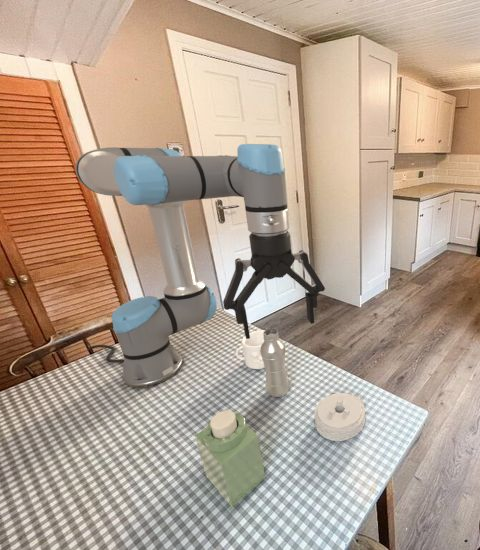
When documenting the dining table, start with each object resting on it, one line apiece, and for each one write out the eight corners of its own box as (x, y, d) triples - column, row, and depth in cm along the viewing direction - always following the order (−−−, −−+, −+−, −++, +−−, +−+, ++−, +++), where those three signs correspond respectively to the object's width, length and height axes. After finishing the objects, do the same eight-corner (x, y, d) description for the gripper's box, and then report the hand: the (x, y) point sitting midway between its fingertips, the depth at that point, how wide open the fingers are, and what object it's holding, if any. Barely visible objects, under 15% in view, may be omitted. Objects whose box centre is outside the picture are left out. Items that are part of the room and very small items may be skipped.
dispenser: (206, 476, 64) (192, 427, 59) (238, 451, 69) (229, 403, 64) (232, 507, 58) (219, 456, 53) (265, 477, 64) (256, 427, 58)
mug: (238, 378, 92) (233, 353, 88) (237, 358, 101) (233, 335, 97) (278, 368, 96) (275, 343, 93) (274, 350, 105) (271, 327, 102)
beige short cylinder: (208, 431, 58) (205, 421, 57) (229, 416, 62) (227, 406, 61) (220, 443, 56) (217, 433, 55) (241, 427, 59) (239, 417, 58)
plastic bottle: (284, 402, 83) (276, 340, 76) (262, 398, 84) (252, 337, 77) (294, 386, 89) (288, 327, 81) (273, 382, 90) (265, 324, 83)
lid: (349, 396, 85) (348, 382, 83) (374, 428, 75) (375, 412, 74) (307, 416, 79) (305, 401, 77) (329, 453, 69) (328, 437, 67)
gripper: (195, 244, 49) (218, 352, 57) (337, 229, 60) (340, 322, 68) (196, 234, 56) (216, 333, 63) (324, 222, 66) (328, 308, 74)
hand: (280, 327), depth 66 cm, fingers open, 13 cm apart
